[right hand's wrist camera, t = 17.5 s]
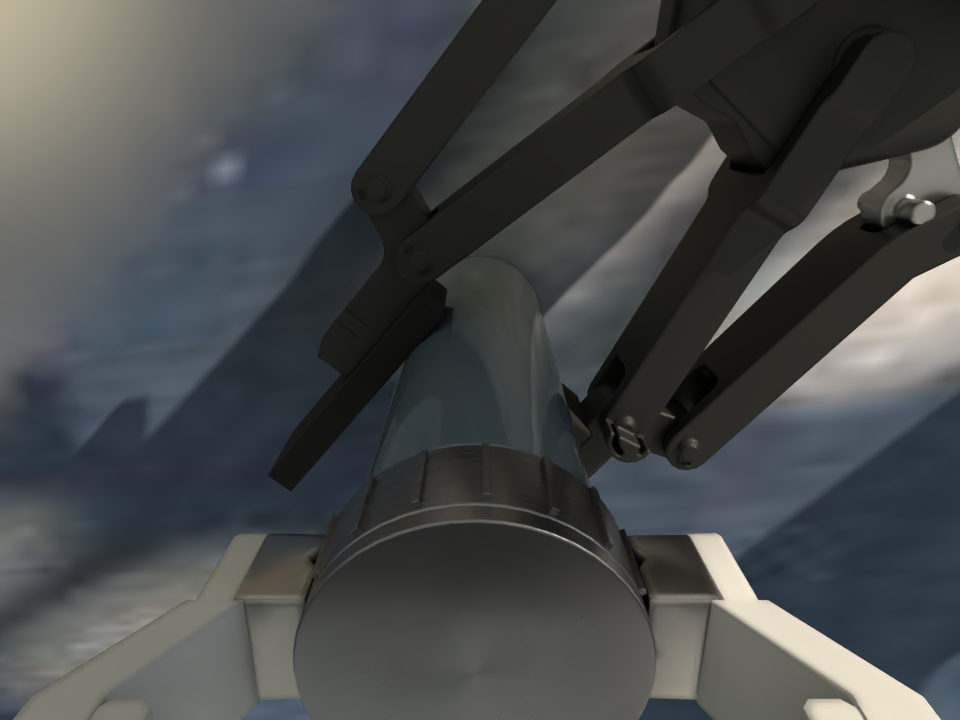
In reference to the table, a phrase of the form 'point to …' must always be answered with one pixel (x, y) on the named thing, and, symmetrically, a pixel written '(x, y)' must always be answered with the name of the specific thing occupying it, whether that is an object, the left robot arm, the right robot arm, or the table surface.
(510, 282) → the blue gray cylinder
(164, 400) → the table surface
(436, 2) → the table surface
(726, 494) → the table surface
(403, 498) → the lid
